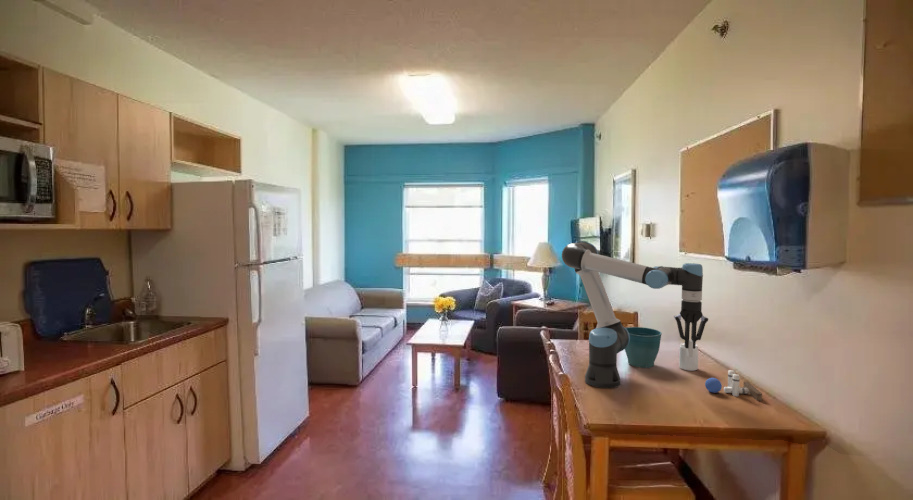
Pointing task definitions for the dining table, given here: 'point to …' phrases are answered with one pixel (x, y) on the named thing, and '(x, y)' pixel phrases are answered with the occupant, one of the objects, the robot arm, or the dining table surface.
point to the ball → (713, 385)
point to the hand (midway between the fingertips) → (689, 355)
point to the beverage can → (688, 358)
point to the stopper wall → (753, 391)
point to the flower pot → (643, 346)
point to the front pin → (741, 390)
